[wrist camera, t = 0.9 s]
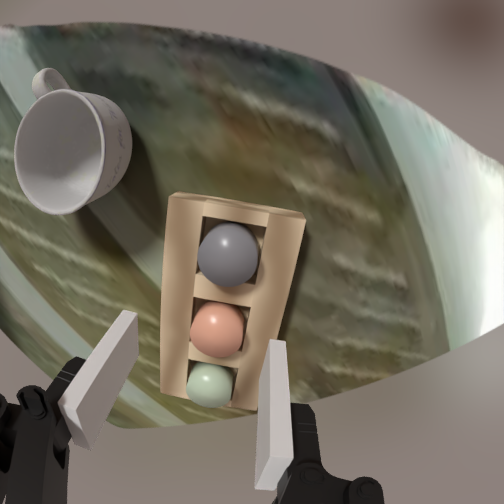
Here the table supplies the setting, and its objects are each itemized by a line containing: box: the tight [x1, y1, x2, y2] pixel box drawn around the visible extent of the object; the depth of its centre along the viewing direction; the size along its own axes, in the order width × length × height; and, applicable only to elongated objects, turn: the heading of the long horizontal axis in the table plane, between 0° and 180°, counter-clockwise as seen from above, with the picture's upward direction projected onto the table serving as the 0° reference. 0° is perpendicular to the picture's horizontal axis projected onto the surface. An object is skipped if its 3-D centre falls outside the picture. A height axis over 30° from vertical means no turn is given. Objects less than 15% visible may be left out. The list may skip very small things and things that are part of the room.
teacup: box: [14, 68, 132, 215], centre depth 23 cm, size 14×11×8 cm
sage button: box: [186, 361, 233, 408], centre depth 33 cm, size 5×5×3 cm
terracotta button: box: [190, 300, 244, 358], centre depth 30 cm, size 5×5×3 cm
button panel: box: [160, 191, 306, 411], centre depth 32 cm, size 12×24×3 cm, turn 170°
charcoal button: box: [197, 221, 258, 287], centre depth 27 cm, size 5×5×3 cm
